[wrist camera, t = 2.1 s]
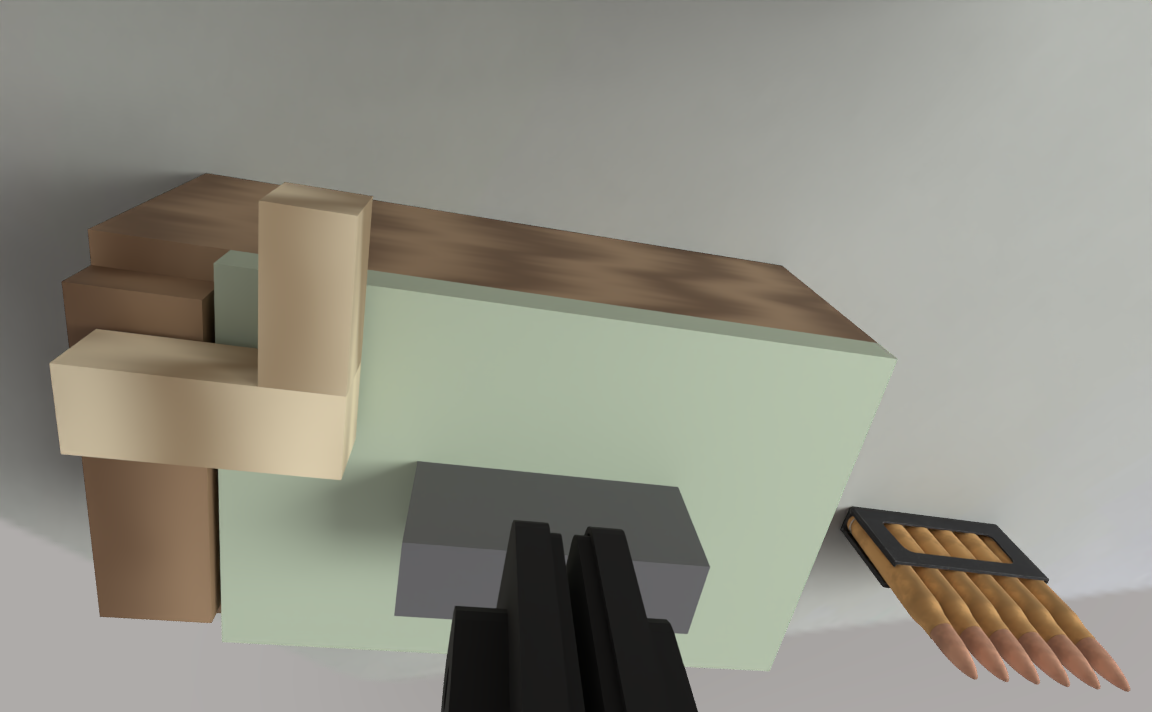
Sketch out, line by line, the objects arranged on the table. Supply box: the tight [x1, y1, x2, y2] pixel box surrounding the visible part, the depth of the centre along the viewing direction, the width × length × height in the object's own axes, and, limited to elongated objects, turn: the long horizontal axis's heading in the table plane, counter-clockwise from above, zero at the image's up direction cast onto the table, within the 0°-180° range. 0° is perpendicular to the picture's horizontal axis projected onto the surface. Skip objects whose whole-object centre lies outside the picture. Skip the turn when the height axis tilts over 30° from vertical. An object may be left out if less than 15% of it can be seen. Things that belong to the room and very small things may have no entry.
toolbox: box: [62, 173, 877, 623], centre depth 31 cm, size 28×16×12 cm, turn 79°
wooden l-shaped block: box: [49, 182, 373, 480], centre depth 21 cm, size 8×8×2 cm
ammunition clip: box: [841, 507, 1130, 692], centre depth 39 cm, size 11×2×12 cm, turn 77°
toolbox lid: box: [214, 250, 898, 671], centre depth 25 cm, size 24×16×6 cm
